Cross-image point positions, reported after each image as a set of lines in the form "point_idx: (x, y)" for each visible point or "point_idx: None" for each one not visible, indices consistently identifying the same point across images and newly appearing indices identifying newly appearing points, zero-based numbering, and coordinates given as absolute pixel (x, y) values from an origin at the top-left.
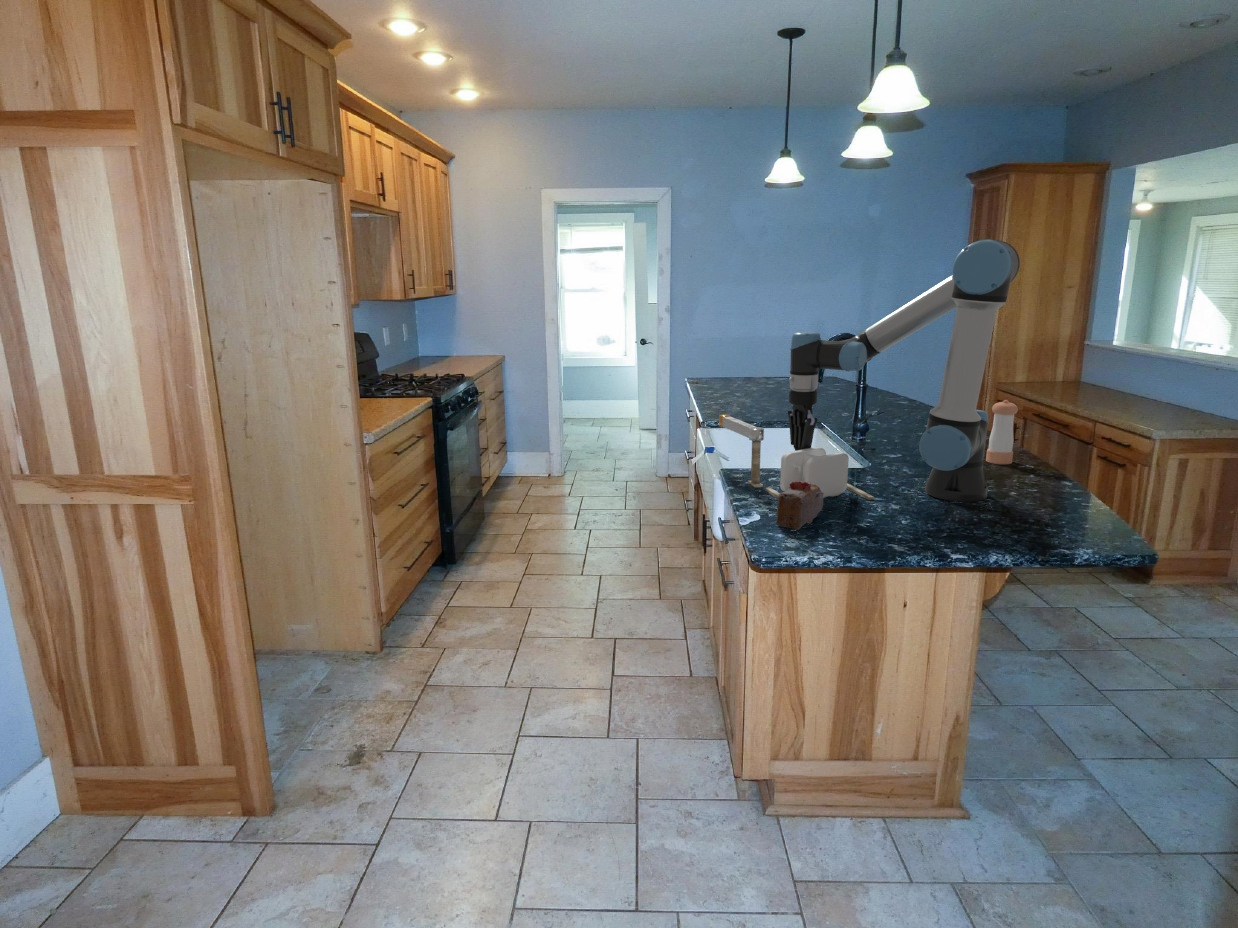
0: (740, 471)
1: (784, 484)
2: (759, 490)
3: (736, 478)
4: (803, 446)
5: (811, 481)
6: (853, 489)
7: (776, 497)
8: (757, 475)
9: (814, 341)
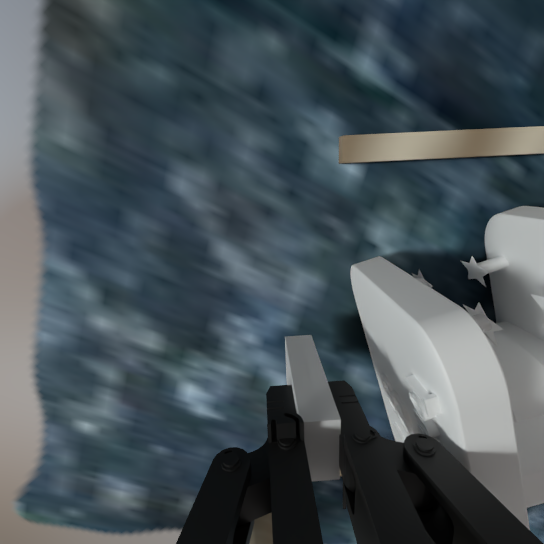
0: (63, 472)
1: None
2: (327, 481)
3: (161, 507)
4: (451, 521)
5: None
6: (491, 155)
7: None
8: None
9: None
